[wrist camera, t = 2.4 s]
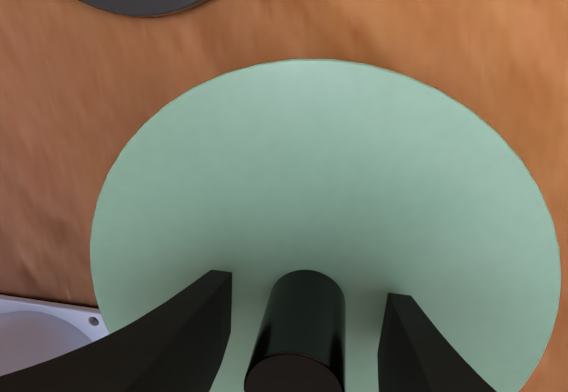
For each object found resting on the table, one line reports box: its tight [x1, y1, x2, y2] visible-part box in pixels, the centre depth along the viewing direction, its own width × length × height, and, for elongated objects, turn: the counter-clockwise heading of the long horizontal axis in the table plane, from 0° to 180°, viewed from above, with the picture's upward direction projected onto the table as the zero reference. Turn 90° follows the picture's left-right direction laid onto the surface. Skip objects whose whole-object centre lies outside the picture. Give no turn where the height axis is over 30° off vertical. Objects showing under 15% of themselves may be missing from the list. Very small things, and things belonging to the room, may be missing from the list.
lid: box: [90, 58, 561, 392], centre depth 11 cm, size 13×13×4 cm
